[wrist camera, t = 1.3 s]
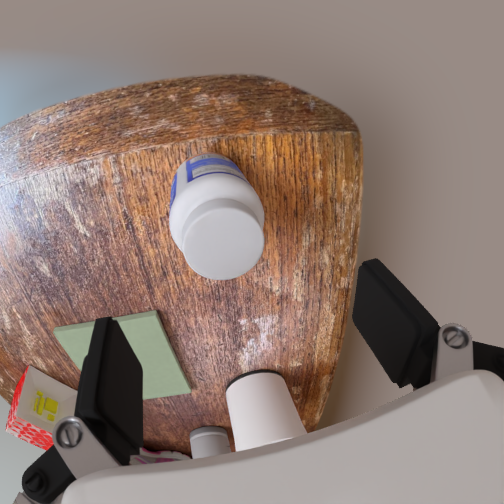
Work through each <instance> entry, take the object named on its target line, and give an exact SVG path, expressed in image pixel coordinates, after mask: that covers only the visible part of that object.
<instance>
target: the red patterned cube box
mask: <svg viewBox="0 0 504 504" xmlns="http://www.w3.org/2000/svg"><path fill="white" fill-rule="evenodd" d="M77 392H78V391H76V390H74V389H72V388H70V387H68V386H66V385H64V384H62V383H61V382H59V381H57V380H55V379H53V378H51V377H49V376H48V375H46V374H44V373H42V372H41V371H39V370H37V369H35V368H34V367H32V366H30V365H29V366H28V367H27V369H26V370H25V372H24V374H23V376H22V377H21V379H20V381H19V383H18V384H17V386H16V389H15V393H14V397H13V400H12V404H11V409H10V411H9V416H8V421H7V424H6V426H7V427H6V431H7V432H9V433H11V434H13V435H15V436H17V437H18V438H20V439H22V440H25V441H27V442H29V443H31V444H33V445H35V446H38V447H40V448H42V449H45V450H48V449H49V448H50V447H51V446H52V445H53V444H54V443H53V441H52V432H53V429H54V427H55V425H56V423H57V422H58V421H59V420H61V419H62V418H64V417H68V416H74V412H75V405H76V398H77Z"/></svg>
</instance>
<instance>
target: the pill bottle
mask: <svg viewBox="0 0 504 504" xmlns="http://www.w3.org/2000/svg"><path fill="white" fill-rule="evenodd" d="M169 225H170V231H171V235H172V237H173V240H174V241H175V243H176V245H177V246H178V248H179V249H180V250H181V251H182V252H183V254H184V257H185V259H186V261H187V263H188V264H189V266H190V267H191V268H192V269H193V270H194V271H195V272H196V273H198V274H199V275H201V276H203V277H206V278H209V279H213V280H228V279H233V278H236V277H239V276H241V275H243V274H245V273H246V272H248V271H249V270H250V269H251V268H253V267H254V266H255V264H256V263H257V262H258V260H259V259H260V257H261V255H262V252H263V249H264V233H263V226H264V210H263V206H262V203H261V201H260V199H259V197H258V195H257V193H256V192H255V190H254V189H253V188H252V186H251V185H250V183H249V182H248V181H247V179H246V178H245V176H244V175H243V174H242V172H241V171H240V170H239V168H238V167H237V166H236V164H235V163H234V162H233V161H232V160H230V159H229V158H227V157H226V156H224V155H221V154H218V153H213V152H205V153H199V154H196V155H194V156H192V157H190V158H188V159H187V160H186V161H184V162H183V163H182V164H181V165H180V166H179V168H178V169H177V171H176V173H175V175H174V177H173V180H172V185H171V200H170V214H169Z"/></svg>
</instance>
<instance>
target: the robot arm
mask: <svg viewBox="0 0 504 504" xmlns="http://www.w3.org/2000/svg"><path fill="white" fill-rule="evenodd" d="M352 318H353V322H354V324H355V326H356V327H357V329H358V330H359V332H360V333H361V335H362V336H363V338H364V339H365V341H366V342H367V344H368V345H369V347H370V348H371V350H372V351H373V353H374V354H375V356H376V358H377V359H378V361H379V362H380V364H381V365H382V367H383V368H384V370H385V372H386V373H387V374H388V376H389V378H390V379H391V381H392V382H393V383H397V385H398V386H399V388H402V387H404V386H406V385H408V384H410V383H411V384H412V386H413V392H411V393H409V394H407V395H405V396H403V397H401V398H398V399H396V400H394V401H392V402H389V403H387V404H385V405H383V406H380V407H378V408H376V409H374V410H371V411H369V412H366V413H364V414H362V415H359V416H356V417H354V418H351V419H349V420H346V421H343V422H341V423H337V424H335V425H332V426H329V427H326V428H323V429H320V430H317V431H314V432H311V433H308V434H304V435H301V436H298V437H294V438H291V439H287V440H284V441H280V442H276V443H272V444H268V445H264V446H260V447H256V448H251V449H247V450H242V451H237V452H232V453H227V454H221V455H216V456H210V457H203V458H196V459H189V460H181V461H173V462H163V463H153V464H140V465H131V464H130V463H129V462H130V455H140V448H142V447H143V369H142V365H141V363H140V362H139V360H138V358H137V356H136V355H135V353H134V351H133V349H132V347H131V346H130V344H129V342H128V340H127V338H126V336H125V334H124V332H123V331H122V329H121V327H120V325H119V323H118V321H117V320H113V319H112V318H111V317H104V318H98V319H96V321H95V324H94V328H93V332H92V337H91V341H90V345H89V350H88V355H86V356H85V358H84V360H83V365H82V370H81V375H80V381H79V386H78V392H77V398H76V405H75V412H74V416H68V417H64V418H62V419H61V420H59V421H58V422H57V423H56V425H55V427H54V429H53V432H52V441H53V443H54V444H53V445H52V446H51V447H50V448H49V449H48V450H47V451H46V452H45V453H44V454H43V455H42V456H41V457H39V458H38V459H37V460H36V461H35V462H34V463H33V464H32V465H31V466H30V467H29V468H28V469H27V470H26V471H25V472H24V474H23V477H22V487H23V490H24V491H23V493H20V492H19V493H18V495H17V497H16V499H15V501H14V503H13V504H504V348H501V347H496V346H492V345H487V344H483V343H479V342H475V341H472V337H471V335H470V333H469V331H468V330H467V329H466V328H465V327H463V326H461V325H459V324H455V323H449V324H445V325H444V326H442V327H440V326H439V325H438V322H437V321H436V320H435V319H434V318H433V317H432V315H431V314H430V313H429V312H428V311H427V310H426V309H425V308H424V307H423V306H422V304H421V303H420V302H419V301H418V300H417V299H416V298H415V297H414V296H413V295H412V294H411V293H410V291H409V290H408V289H407V288H406V287H405V286H404V285H403V284H402V283H401V282H400V281H399V280H398V279H397V278H396V277H395V276H394V275H393V274H392V273H391V272H390V271H389V270H388V269H387V268H386V266H385V265H384V264H383V263H382V262H381V261H380V260H378V259H376V258H375V259H371V260H368V261H364V262H363V263H362V266H360V267H359V270H358V279H357V287H356V294H355V301H354V308H353V314H352Z"/></svg>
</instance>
